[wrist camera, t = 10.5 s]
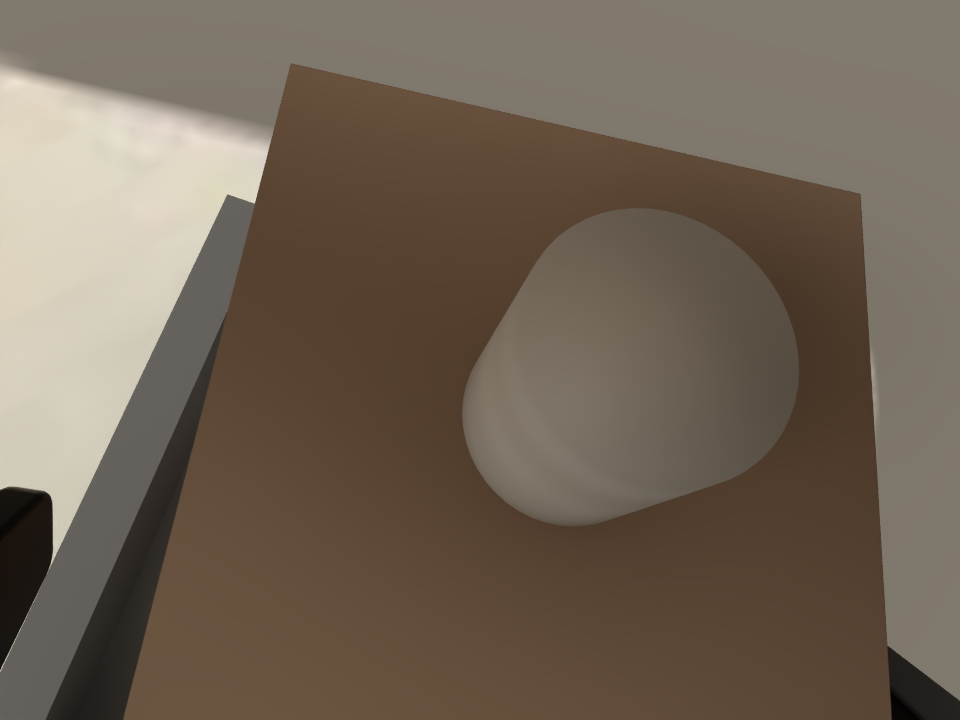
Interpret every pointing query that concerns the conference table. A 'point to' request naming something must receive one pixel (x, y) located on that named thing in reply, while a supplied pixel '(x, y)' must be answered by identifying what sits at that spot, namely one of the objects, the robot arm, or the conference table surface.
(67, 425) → the conference table surface
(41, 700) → the tray
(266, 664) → the block
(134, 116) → the conference table surface
